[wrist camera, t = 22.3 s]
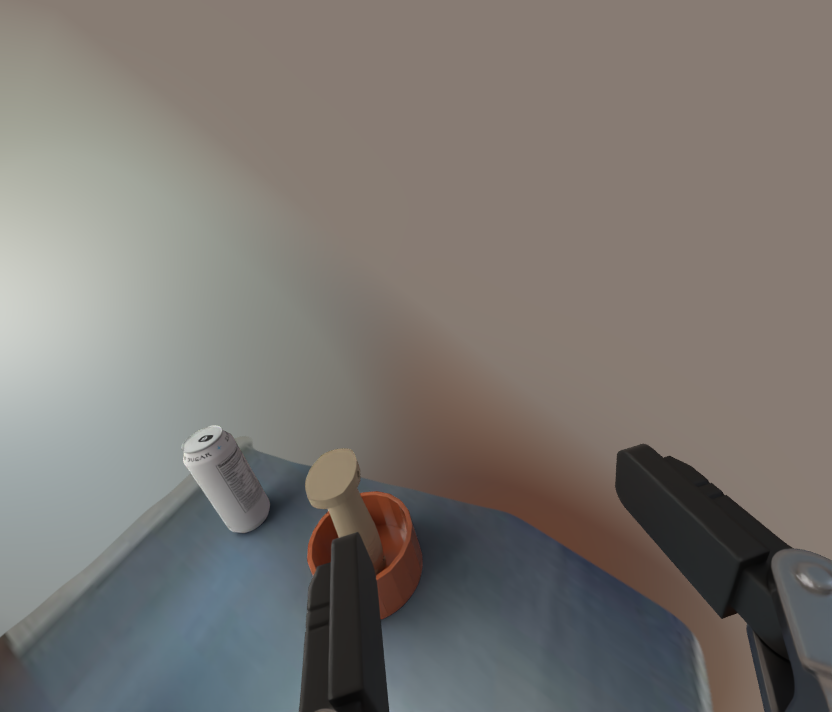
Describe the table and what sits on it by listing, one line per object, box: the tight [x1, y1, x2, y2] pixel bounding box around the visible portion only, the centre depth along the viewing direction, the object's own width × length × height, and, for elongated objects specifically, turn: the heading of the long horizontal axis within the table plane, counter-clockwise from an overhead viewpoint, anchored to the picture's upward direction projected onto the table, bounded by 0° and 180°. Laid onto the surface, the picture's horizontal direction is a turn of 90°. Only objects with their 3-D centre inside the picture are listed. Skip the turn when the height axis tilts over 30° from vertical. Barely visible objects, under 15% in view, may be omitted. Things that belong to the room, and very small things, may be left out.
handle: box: [305, 449, 386, 575], centre depth 38 cm, size 5×6×15 cm
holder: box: [307, 491, 423, 619], centre depth 41 cm, size 11×11×6 cm
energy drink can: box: [182, 426, 270, 533], centre depth 49 cm, size 6×6×15 cm
